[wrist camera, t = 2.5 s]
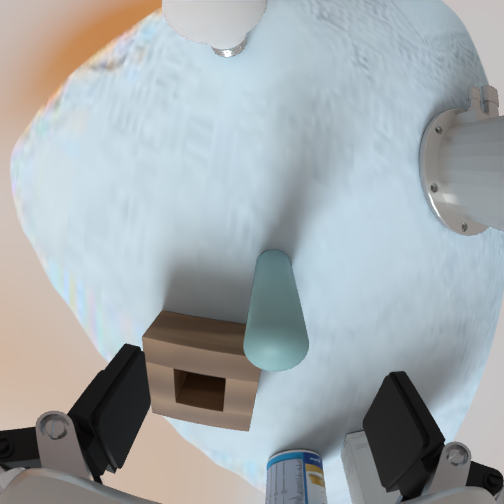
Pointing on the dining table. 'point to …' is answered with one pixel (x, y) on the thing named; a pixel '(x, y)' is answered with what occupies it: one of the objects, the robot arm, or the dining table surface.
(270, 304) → the peg
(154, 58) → the dining table surface
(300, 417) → the dining table surface
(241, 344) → the socket block
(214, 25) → the light bulb
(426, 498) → the robot arm
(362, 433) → the skincare box
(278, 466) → the beverage bottle
